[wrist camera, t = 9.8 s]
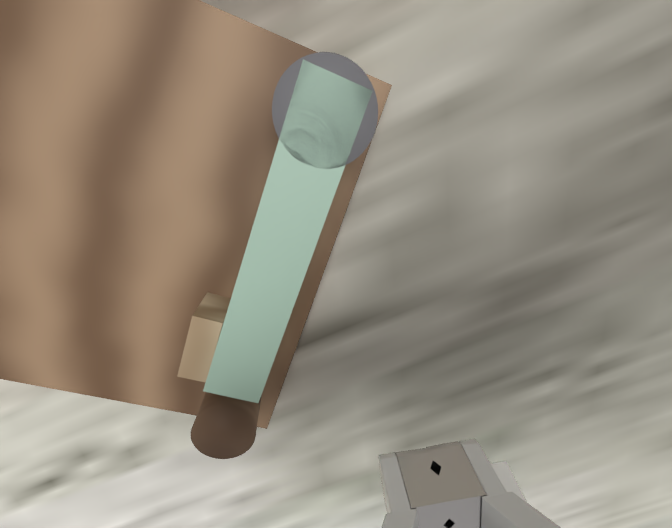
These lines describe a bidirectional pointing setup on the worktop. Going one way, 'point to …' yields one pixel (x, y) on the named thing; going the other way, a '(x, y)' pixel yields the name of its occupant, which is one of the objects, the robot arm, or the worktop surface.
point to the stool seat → (140, 200)
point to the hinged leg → (291, 212)
